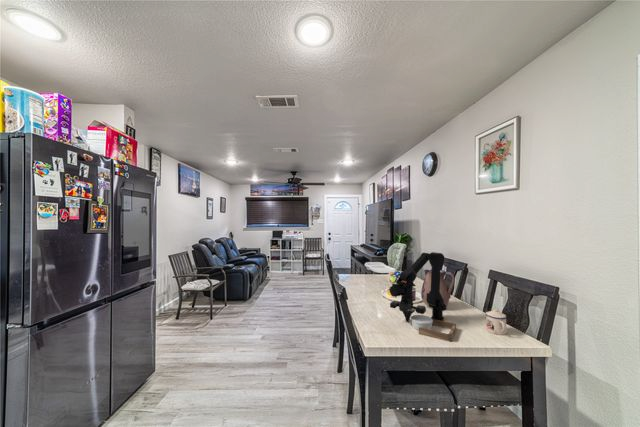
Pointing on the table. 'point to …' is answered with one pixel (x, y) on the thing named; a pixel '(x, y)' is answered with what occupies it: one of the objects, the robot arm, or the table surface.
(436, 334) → the walnut dock
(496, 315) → the teacup with lid
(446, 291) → the ceramic pitcher
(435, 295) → the robot arm
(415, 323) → the ramekin
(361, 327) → the table surface
